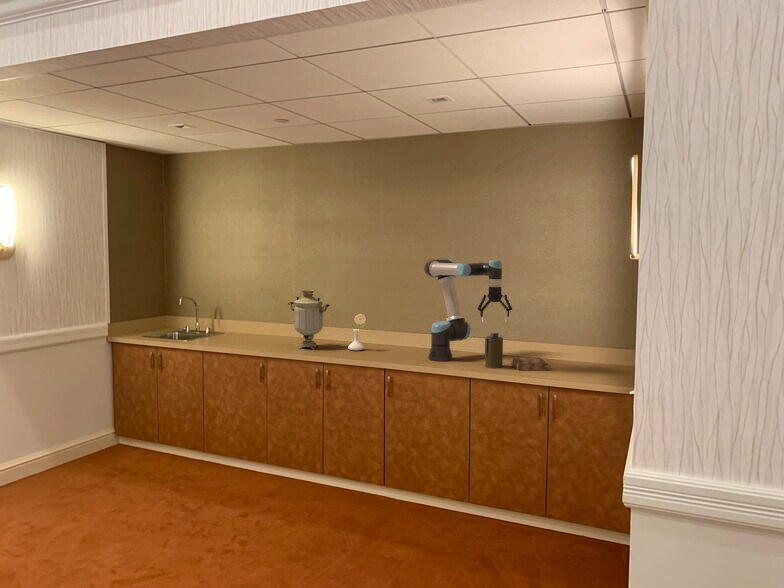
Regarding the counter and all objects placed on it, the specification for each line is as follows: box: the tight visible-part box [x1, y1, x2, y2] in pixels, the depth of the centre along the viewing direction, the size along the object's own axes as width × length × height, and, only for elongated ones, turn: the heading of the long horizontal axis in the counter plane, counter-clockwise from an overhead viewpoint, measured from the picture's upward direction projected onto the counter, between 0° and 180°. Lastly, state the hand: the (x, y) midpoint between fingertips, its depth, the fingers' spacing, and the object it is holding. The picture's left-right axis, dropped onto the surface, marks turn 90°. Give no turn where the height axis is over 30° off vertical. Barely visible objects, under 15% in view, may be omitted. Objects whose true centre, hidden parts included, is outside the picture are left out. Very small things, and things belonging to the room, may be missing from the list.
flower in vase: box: [347, 313, 367, 351], centre depth 408 cm, size 13×11×25 cm
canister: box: [484, 332, 504, 369], centre depth 357 cm, size 11×10×20 cm
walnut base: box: [510, 357, 550, 371], centre depth 356 cm, size 18×18×4 cm
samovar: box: [287, 289, 330, 350], centre depth 418 cm, size 30×26×40 cm
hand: (494, 322), depth 355 cm, fingers open, 13 cm apart
